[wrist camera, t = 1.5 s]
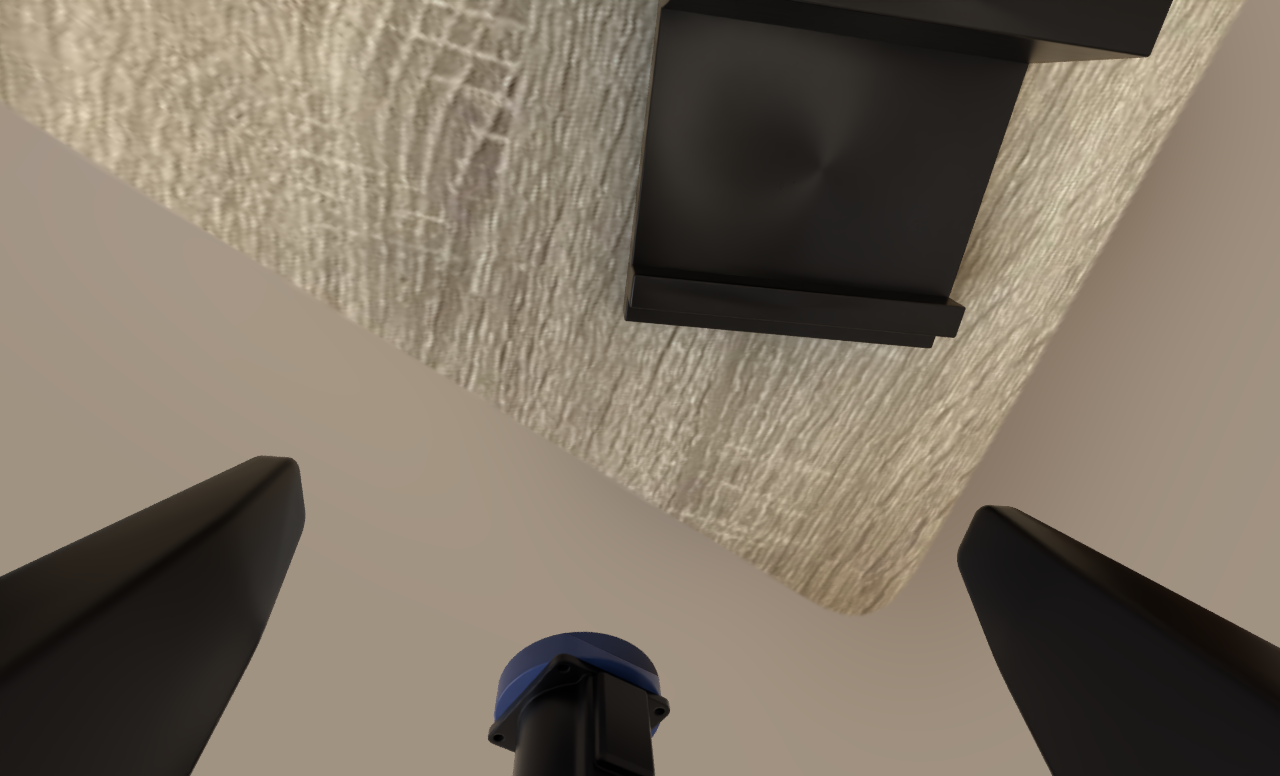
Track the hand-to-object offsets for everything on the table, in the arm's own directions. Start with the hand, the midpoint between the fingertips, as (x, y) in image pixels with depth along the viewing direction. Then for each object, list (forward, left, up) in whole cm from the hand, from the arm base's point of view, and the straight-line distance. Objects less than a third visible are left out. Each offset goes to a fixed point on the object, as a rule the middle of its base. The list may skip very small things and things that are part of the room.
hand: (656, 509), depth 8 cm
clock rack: (+6, -3, -12) cm, 14 cm away
